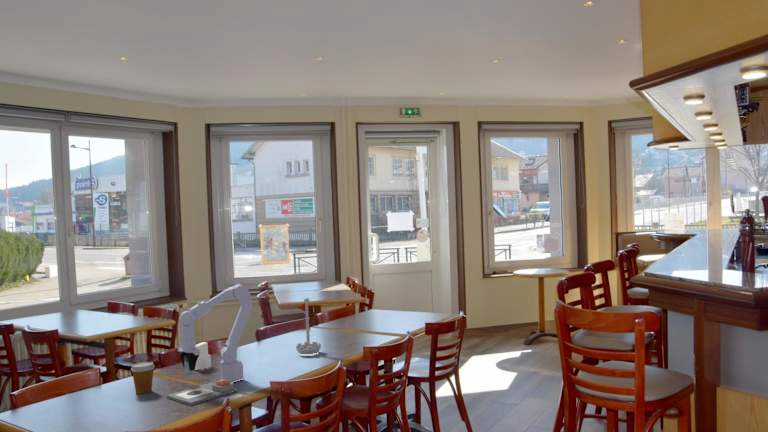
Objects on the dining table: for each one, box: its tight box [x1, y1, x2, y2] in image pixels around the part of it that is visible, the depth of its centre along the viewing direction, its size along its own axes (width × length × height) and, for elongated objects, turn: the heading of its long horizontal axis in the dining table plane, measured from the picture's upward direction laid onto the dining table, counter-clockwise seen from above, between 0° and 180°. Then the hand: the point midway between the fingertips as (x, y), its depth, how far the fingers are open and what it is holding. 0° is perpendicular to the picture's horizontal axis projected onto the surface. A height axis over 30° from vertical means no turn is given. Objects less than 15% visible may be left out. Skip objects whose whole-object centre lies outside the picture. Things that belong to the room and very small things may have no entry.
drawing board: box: [166, 381, 238, 407], centre depth 246 cm, size 22×18×3 cm
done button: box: [215, 379, 230, 387], centre depth 249 cm, size 4×4×3 cm
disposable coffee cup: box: [130, 361, 155, 395], centre depth 254 cm, size 10×10×12 cm
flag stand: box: [295, 297, 322, 354], centre depth 311 cm, size 13×13×30 cm
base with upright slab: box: [195, 341, 212, 370], centre depth 290 cm, size 9×9×12 cm
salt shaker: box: [183, 356, 195, 376], centre depth 258 cm, size 4×4×8 cm
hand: (189, 369), depth 258 cm, fingers closed on salt shaker, 4 cm apart
